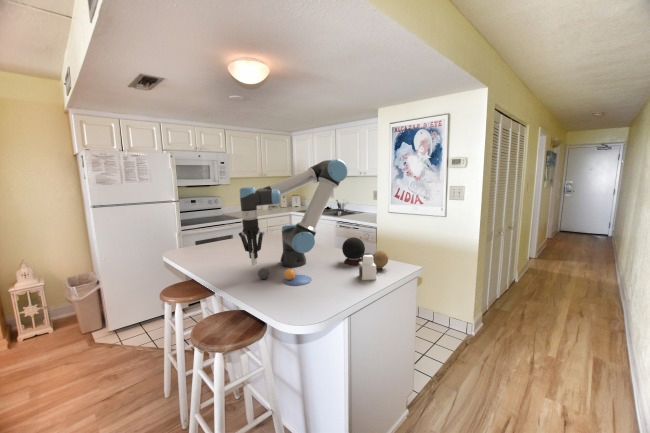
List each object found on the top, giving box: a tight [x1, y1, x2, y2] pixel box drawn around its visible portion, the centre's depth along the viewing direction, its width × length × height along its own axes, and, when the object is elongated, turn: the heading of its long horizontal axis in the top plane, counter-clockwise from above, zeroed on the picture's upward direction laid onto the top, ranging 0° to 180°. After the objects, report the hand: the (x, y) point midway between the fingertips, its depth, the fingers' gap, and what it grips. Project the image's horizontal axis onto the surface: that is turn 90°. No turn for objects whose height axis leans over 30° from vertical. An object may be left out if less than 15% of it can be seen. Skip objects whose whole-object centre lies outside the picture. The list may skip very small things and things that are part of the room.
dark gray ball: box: [257, 267, 270, 280], centre depth 144 cm, size 6×6×6 cm
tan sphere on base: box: [373, 250, 389, 269], centre depth 154 cm, size 9×9×10 cm
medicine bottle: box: [358, 252, 377, 281], centre depth 142 cm, size 7×7×12 cm
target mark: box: [282, 274, 312, 287], centre depth 141 cm, size 14×14×1 cm
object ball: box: [283, 268, 296, 280], centre depth 142 cm, size 6×6×6 cm
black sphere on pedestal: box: [341, 236, 366, 267], centre depth 166 cm, size 13×13×15 cm
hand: (254, 264), depth 145 cm, fingers closed
